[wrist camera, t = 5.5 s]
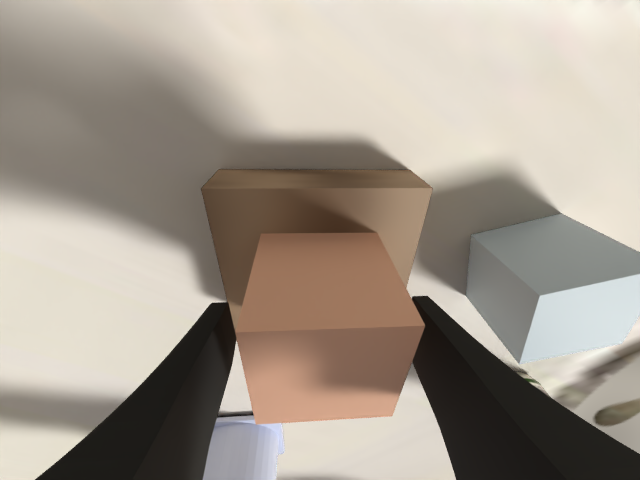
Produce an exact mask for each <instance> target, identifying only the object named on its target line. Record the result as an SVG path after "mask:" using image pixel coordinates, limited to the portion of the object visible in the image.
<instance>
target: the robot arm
mask: <svg viewBox="0 0 640 480" xmlns="http://www.w3.org/2000/svg"><path fill="white" fill-rule="evenodd" d="M412 301H413V303H414V305H415V307H416V309H417V311H418V312H419V314H420V316H421V318H422V320H423V322H424V324H425V328H424V331H423V333H422V336H421V339H420V341H419V344H418V347H417V350H416V352H415V355H414V358H413V361H412V362H413V365H414V367H415V369H416V372H417V374H418V377H419V379H420V381H421V384H422V386H423V388H424V391H425V393H426V395H427V398H428V400H429V403H430V405H431V407H432V410H433V412H434V414H435V417H436V419H437V422H438V425H439V427H440V430H441V433H442V436H443V439H444V442H445V445H446V448H447V451H448V454H449V457H450V460H451V463H452V467H453V470H454V473H455V477H456V480H640V454H639V453H637V452H635V451H634V450H631V449H630V448H628V447H627V446H625V445H623V444H622V443H620V442H618V441H617V440H615V439H613V438H612V437H610V436H609V435H607V434H605V433H604V432H602V431H601V430H599V429H597V428H596V427H594V426H593V425H591V424H589V423H588V422H586V421H585V420H583V419H582V418H580V417H579V416H577V415H576V414H574V413H573V412H571V411H570V410H568V409H567V408H565V407H564V406H562V405H561V404H559V403H558V402H556V401H555V400H553V399H552V398H550V397H549V396H548V395H546V394H545V393H543V392H542V391H541V390H539V389H538V388H536V387H535V386H534V385H532V384H531V383H530V382H528V381H527V380H525V379H524V378H523V377H521V376H520V375H519V374H517V373H516V372H515V371H513V370H512V369H511V368H510V367H508V366H507V365H506V364H505V363H503V362H502V361H501V360H500V359H498V358H497V357H496V356H495V355H493V354H492V353H491V352H490V351H489V350H487V349H486V348H485V347H484V346H483V345H481V344H480V343H479V342H478V341H477V340H476V339H474V338H473V337H472V336H471V335H470V334H469V333H468V332H467V331H465V330H464V329H463V328H462V327H461V326H460V325H459V324H458V323H457V322H455V321H454V320H453V319H452V318H451V317H450V316H449V315H448V314H447V313H446V312H445V311H443V310H442V309H441V308H440V307H439V306H438V305H437V304H436V303H435V302H434V301H433V300H431V299H430V298H429V297H428V296H413V297H412ZM235 344H236V333H235V329H234V325H233V320H232V316H231V312H230V307H229V303H228V302H223V303H211V304H210V305H209V306H208V308H207V309H206V310H205V311H204V313H203V314H202V315H201V316H200V318H199V319H198V320H197V321H196V323H195V324H194V325H193V326H192V328H191V329H190V330H189V331H188V333H187V334H186V335H185V336H184V337H183V338H182V340H181V341H180V342H179V343H178V344H177V345H176V347H175V348H174V349H173V350H172V351H171V352H170V354H169V355H168V356H167V357H166V358H165V359H164V360H163V361H162V362H161V364H160V365H159V366H158V367H157V368H156V369H155V370H154V371H153V372H152V373H151V374H150V375H149V377H148V378H147V379H146V380H145V381H144V382H143V383H142V384H141V385H140V386H139V387H138V388H137V389H136V390H135V391H134V392H133V393H132V394H131V395H130V396H129V397H128V398H127V399H126V400H125V401H124V402H123V403H122V404H121V405H120V406H119V407H118V408H117V409H116V410H115V411H114V412H112V413H111V414H110V415H109V416H108V417H107V418H106V419H105V420H104V421H103V422H102V423H101V424H99V425H98V426H97V427H96V428H95V429H94V430H93V431H92V432H91V433H89V434H88V435H87V436H86V437H85V438H84V439H83V440H82V441H81V442H79V443H78V444H77V445H76V446H75V447H74V448H73V449H71V450H70V451H69V452H68V453H67V454H66V455H64V456H63V457H62V458H61V459H60V460H59V461H57V462H56V463H55V464H54V465H52V466H51V467H50V468H49V469H48V470H46V471H45V472H44V473H43V474H41V475H40V476H39V477H38V478H37V479H35V480H276V473H277V457H278V454H283V453H284V452H285V447H284V439H283V430H282V423H273V424H257V425H256V423H255V419H254V415H251V416H235V417H219V418H217V416H218V412H219V409H220V405H221V402H222V398H223V395H224V391H225V388H226V384H227V381H228V377H229V373H230V370H231V366H232V361H233V356H234V350H235Z"/></svg>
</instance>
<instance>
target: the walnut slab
mask: <svg viewBox="0 0 640 480" xmlns="http://www.w3.org/2000/svg"><path fill="white" fill-rule="evenodd" d="M432 190H433V188H432V187H431V186H430V185H428V184H427V183H426V182H425V181H423V180H422V179H421V178H420V177H418V176H417V175H416V174H414V173H413V172H412V171H411V170H278V169H219V170H218V171H217V172H216V173H215V174H214V175H213V176H212V177H211V178H210V180H209V181H208V182H207V183H206V184H205V185H204V186H203V187H202V188H201V191H202V195H203V199H204V204H205V208H206V212H207V216H208V221H209V225H210V229H211V233H212V238H213V242H214V246H215V251H216V255H217V259H218V263H219V268H220V272H221V276H222V281H223V285H224V289H225V293H226V298H227V302H228V303H229V307H230V312H231V316H232V320H233V325H234V329H235V332H236V328H237V324H238V320H239V316H240V313H241V309H242V305H243V301H244V297H245V293H246V289H247V286H248V282H249V278H250V274H251V270H252V266H253V262H254V259H255V255H256V251H257V247H258V243H259V239H260V235H261V234H269V233H378V235H379V237H380V239H381V241H382V243H383V245H384V247H385V248H386V250H387V252H388V254H389V256H390V258H391V260H392V262H393V264H394V266H395V268H396V270H397V272H398V274H399V276H400V278H401V280H402V281H403V283H404V285H405V287H407V283H408V280H409V276H410V272H411V268H412V265H413V261H414V257H415V253H416V250H417V246H418V242H419V238H420V235H421V231H422V227H423V223H424V220H425V216H426V212H427V209H428V205H429V201H430V197H431V194H432ZM236 341H237V338H236Z"/></svg>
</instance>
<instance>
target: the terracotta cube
mask: <svg viewBox="0 0 640 480" xmlns="http://www.w3.org/2000/svg"><path fill="white" fill-rule="evenodd" d="M424 328H425V324H424V322H423V320H422V318H421V316H420V314H419V312H418V311H417V309H416V307H415V305H414V303H413V301H412V299H411V297H410V295H409V293H408V291H407V289H406V287H405V285H404V283H403V281H402V280H401V278H400V276H399V274H398V272H397V270H396V268H395V266H394V264H393V262H392V260H391V258H390V256H389V254H388V252H387V250H386V248H385V247H384V245H383V243H382V241H381V239H380V237H379V235H378V233H269V234H261V235H260V239H259V243H258V247H257V251H256V255H255V259H254V262H253V266H252V270H251V274H250V278H249V282H248V286H247V289H246V293H245V297H244V301H243V305H242V309H241V313H240V316H239V320H238V324H237V328H236V332H235V333H236V338H237V342H238V347H239V351H240V356H241V360H242V365H243V369H244V374H245V378H246V383H247V387H248V392H249V396H250V401H251V405H252V410H253V414H254V419H255V423H256V425H257V424H273V423H290V422H306V421H322V420H338V419H354V418H371V417H387V416H392V415H393V413H394V410H395V407H396V404H397V402H398V399H399V396H400V393H401V391H402V388H403V385H404V382H405V380H406V377H407V374H408V372H409V369H410V366H411V363H412V361H413V358H414V355H415V352H416V350H417V347H418V344H419V341H420V339H421V336H422V333H423V331H424Z"/></svg>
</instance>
